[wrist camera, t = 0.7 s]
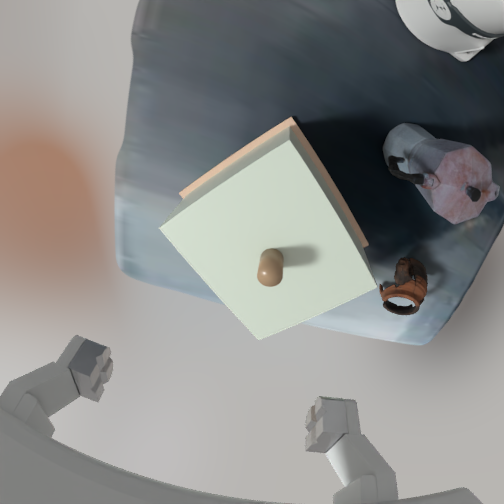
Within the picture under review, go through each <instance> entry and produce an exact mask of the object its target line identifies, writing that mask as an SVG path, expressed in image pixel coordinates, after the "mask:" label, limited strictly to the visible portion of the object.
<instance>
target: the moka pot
mask: <svg viewBox="0 0 504 504" xmlns="http://www.w3.org/2000/svg"><path fill="white" fill-rule="evenodd" d="M383 154H384V158H385V161H386V164H387V166H388V167H389V168H388V170H390V172H391V173H392V175H393V176H396V177H397V178H399V179H402V180H408V181H410V182H412V183H413V184H415V186H416V187H417V188H418V190H419V191H420V192H421V194H422V195H423V197H424V198H425V199H426V201H427V202H428V204H429V205H430V207H431V208H432V209H433V211H434V212H436V213H437V214H439V215H441V216H442V217H444V218H445V219H447V220H448V221H450V222H451V223H453V224H457V223H460V222H463V221H465V220H469V219H472V218H475V217H477V216H478V215H479V214H480V212H481V211H482V209H483V208H484V206H485V204H486V203H487V202H489V201H492V200H495V198H496V197H497V196H498V193H499V187H500V186H499V185H497V184H496V183H494V182H493V181H492V169H491V163H490V162H489V161H488V160H487V159H486V158H485V157H484V156H483V155H482V154H481V153H479V152H478V151H477V150H476V149H475V148H474V147H473V146H472V145H468V144H464V143H459V142H454V141H449V140H444V139H436V138H435V137H433V136H432V135H431V134H430V133H428V132H427V131H426V130H424V129H423V128H422V127H420V126H419V125H416V124H409V123H402V124H400V125H398V126H396V127H395V128H393V129H392V130H391V131H390V132H389V133H388V135H387V137H386V140H385V142H384V145H383Z"/></svg>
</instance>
